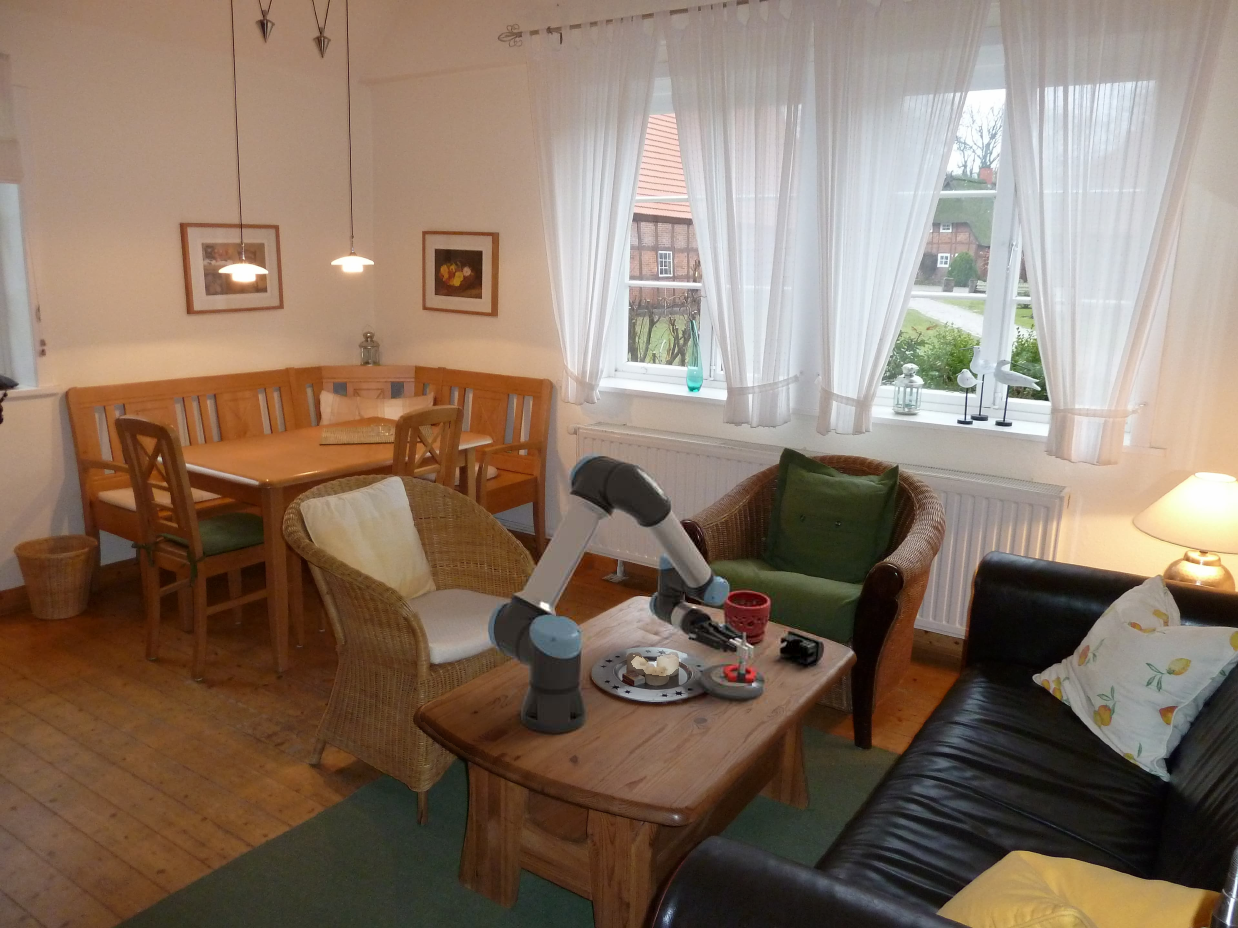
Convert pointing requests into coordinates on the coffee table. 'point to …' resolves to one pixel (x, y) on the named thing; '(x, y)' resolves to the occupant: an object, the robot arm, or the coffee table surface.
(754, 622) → the plant pot
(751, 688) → the rosette plate
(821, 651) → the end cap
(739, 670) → the tow hook
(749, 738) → the coffee table surface
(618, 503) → the robot arm
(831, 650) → the coffee table surface
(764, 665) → the coffee table surface
